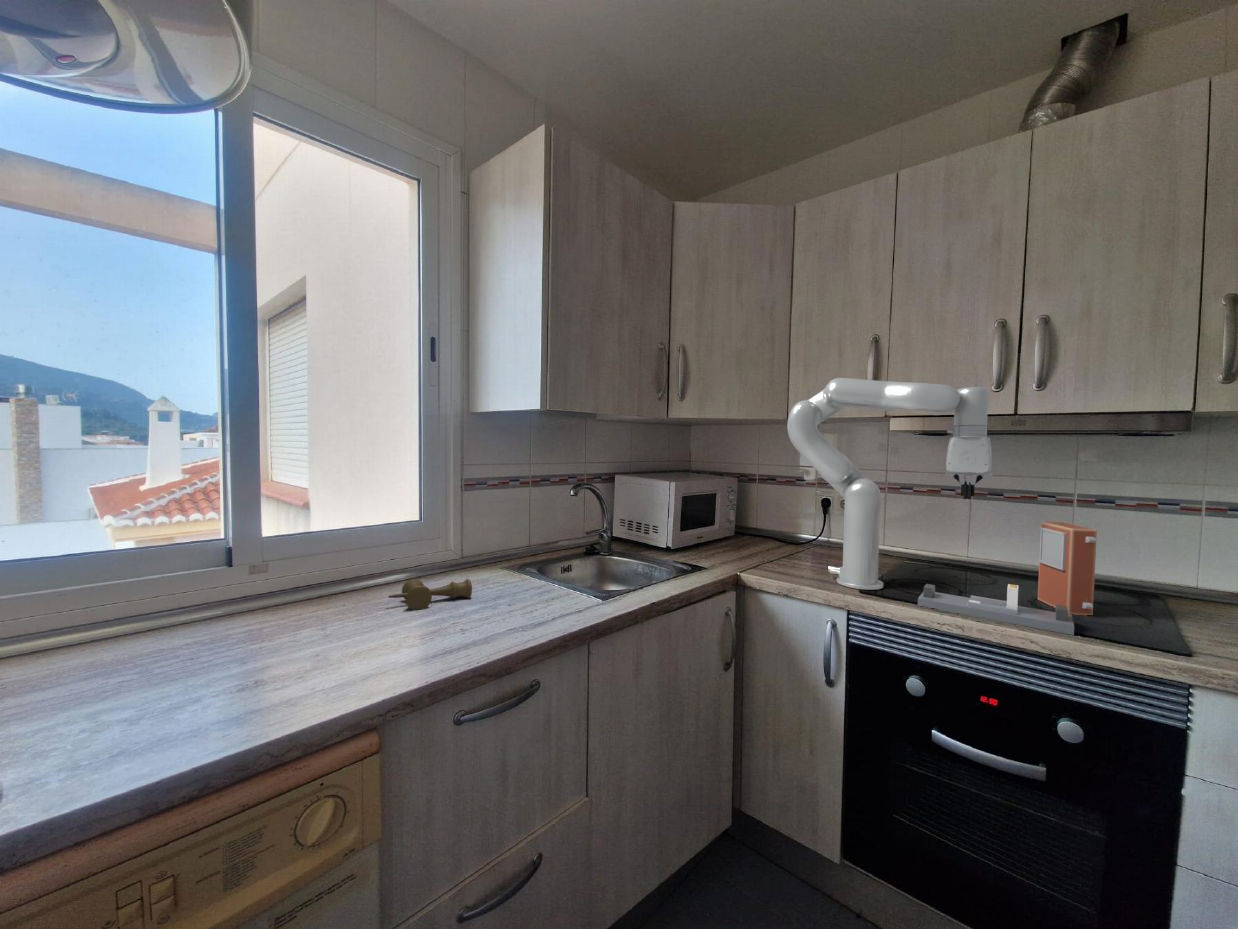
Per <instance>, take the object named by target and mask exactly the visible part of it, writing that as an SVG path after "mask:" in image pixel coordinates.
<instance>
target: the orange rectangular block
mask: <svg viewBox="0 0 1238 929" xmlns="http://www.w3.org/2000/svg"><path fill="white" fill-rule="evenodd" d="M1097 532H1098V531H1097V530H1096V529H1094V528H1090V527H1084V526H1081V525H1080V526H1079V525H1075V524H1071V523H1066V522H1059V521H1058V522H1055V521H1051V522H1050V521H1041V522H1040V535H1039V537H1040V538H1039V539H1040V540H1039V555H1038V556H1039V560H1038V584H1037V585H1038V586H1037V600H1039V601H1041V602H1043V603H1044V604H1047V605H1048V606H1050V607H1052V606H1053V607H1052V608H1054V609H1056V605H1062V606H1067V608H1068V614H1069V615H1072V614H1073V615H1075V616H1087V615H1094V600H1095V599H1094V598H1095V597H1094V595H1095V594H1094V593H1095V575H1096V572H1095V571H1096V559H1097V558H1096V557H1097V556H1096V554H1097V552H1096V551H1097V537H1098V536H1097ZM1073 615H1072V616H1073Z"/></svg>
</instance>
